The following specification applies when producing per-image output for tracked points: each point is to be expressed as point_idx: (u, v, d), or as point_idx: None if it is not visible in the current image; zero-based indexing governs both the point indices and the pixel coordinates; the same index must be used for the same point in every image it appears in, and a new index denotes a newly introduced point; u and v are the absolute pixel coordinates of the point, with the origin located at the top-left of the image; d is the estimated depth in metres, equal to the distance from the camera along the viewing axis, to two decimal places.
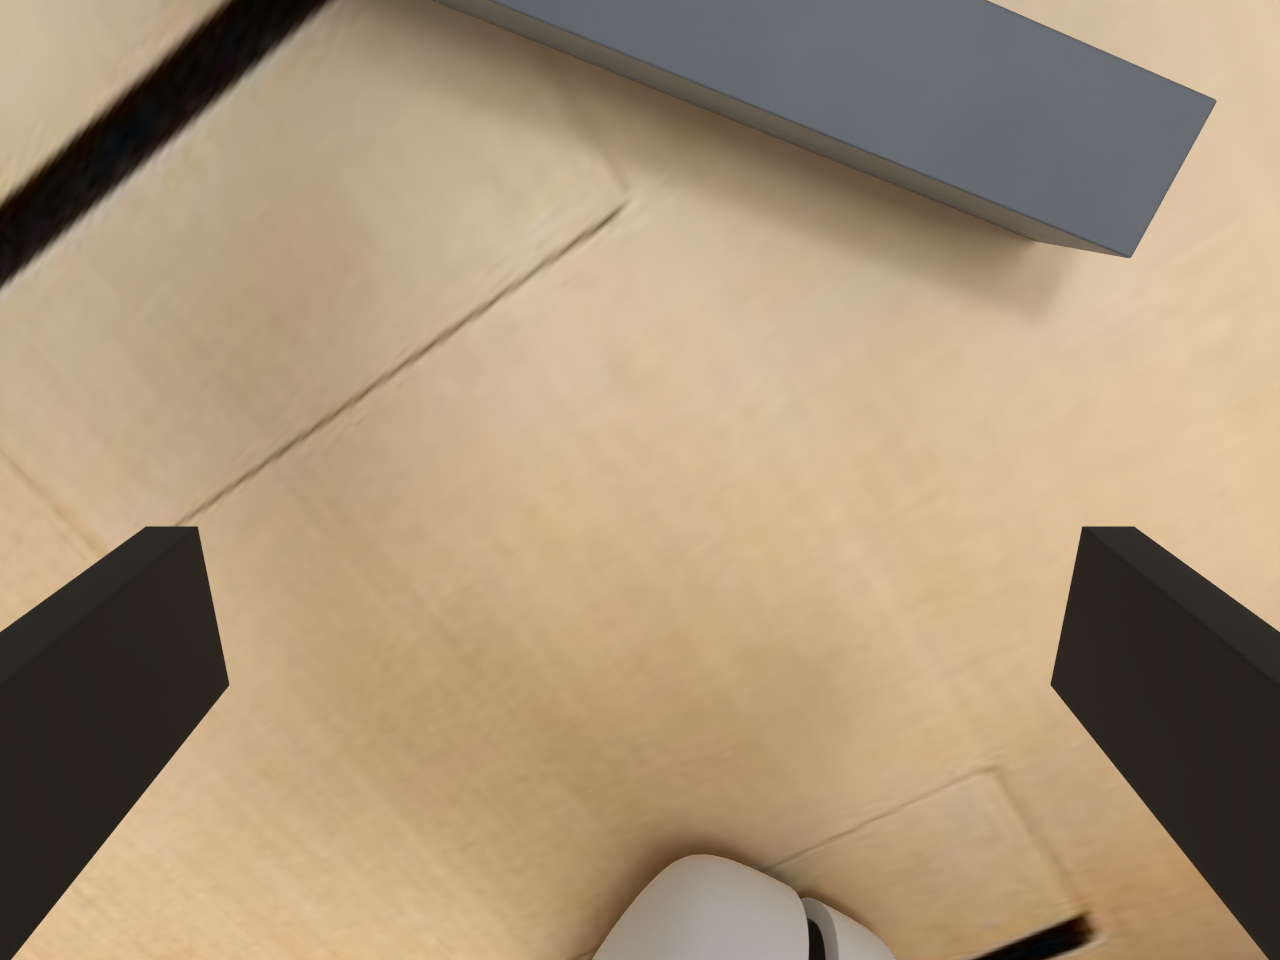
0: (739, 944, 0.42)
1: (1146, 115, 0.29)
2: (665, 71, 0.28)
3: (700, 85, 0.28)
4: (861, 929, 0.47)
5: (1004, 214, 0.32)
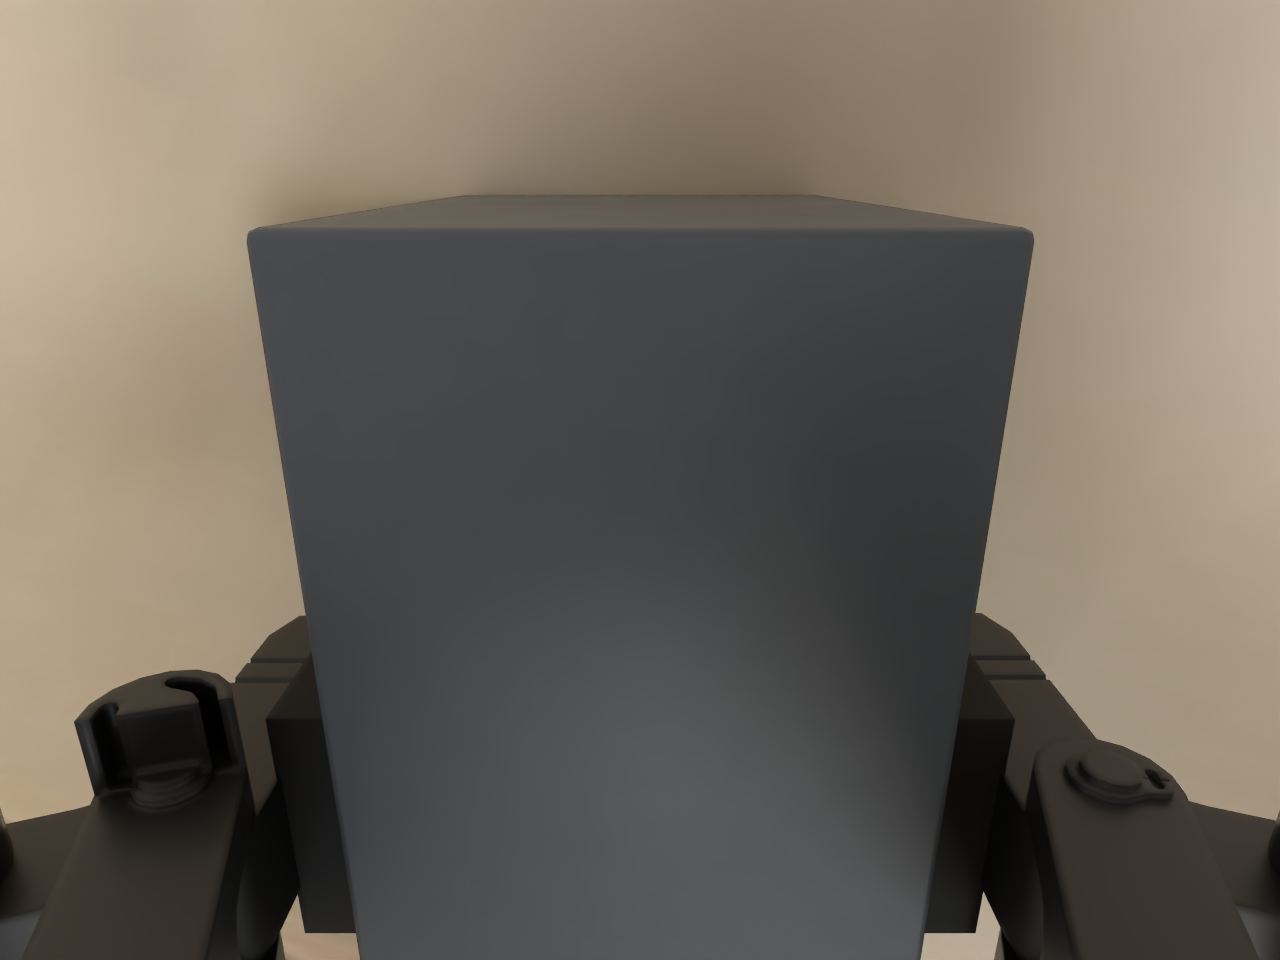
0: None
1: None
2: None
3: None
4: None
5: None
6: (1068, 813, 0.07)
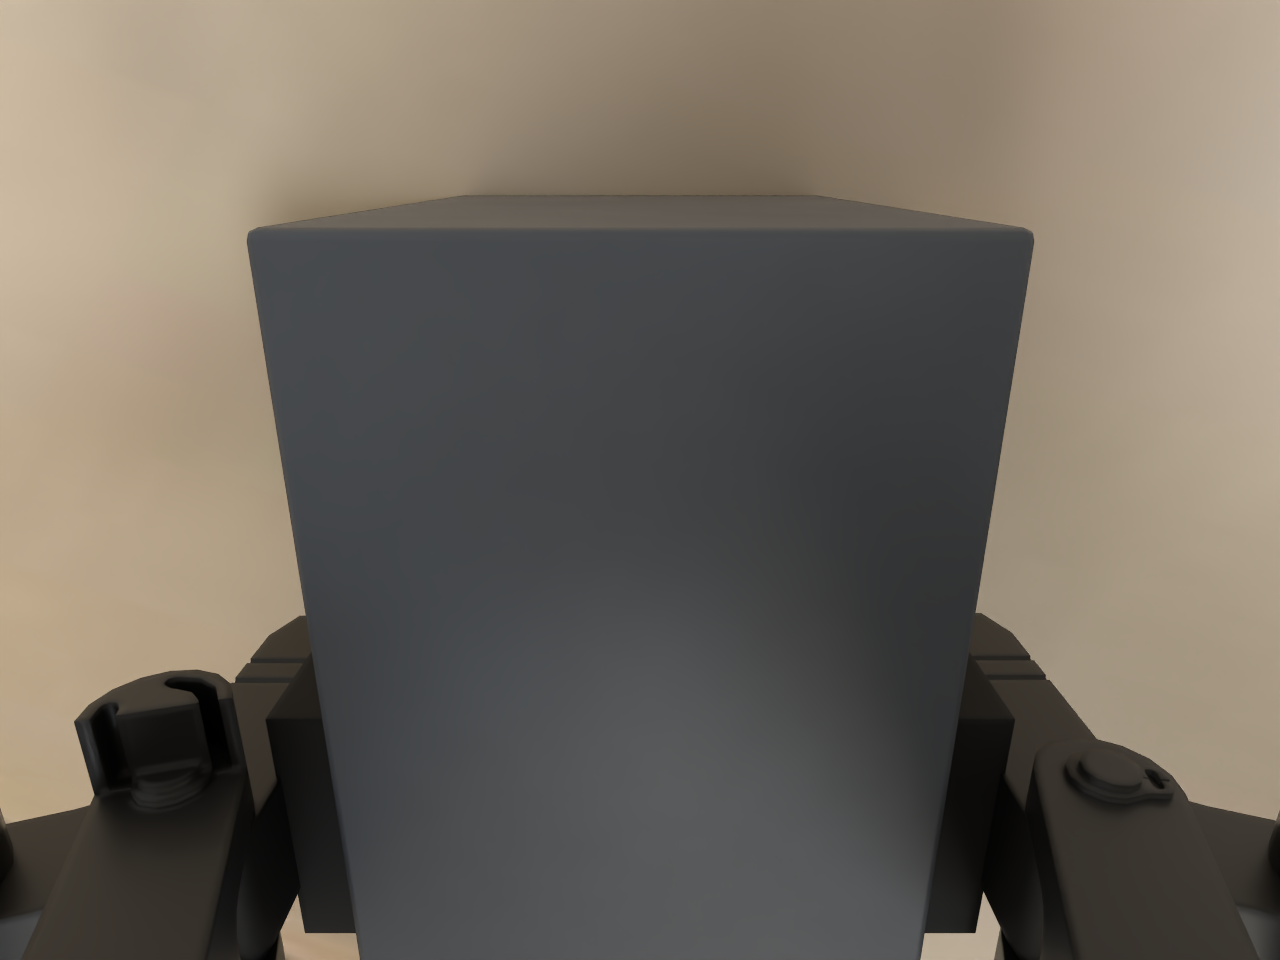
0: None
1: None
2: None
3: None
4: None
5: None
6: (1068, 813, 0.07)
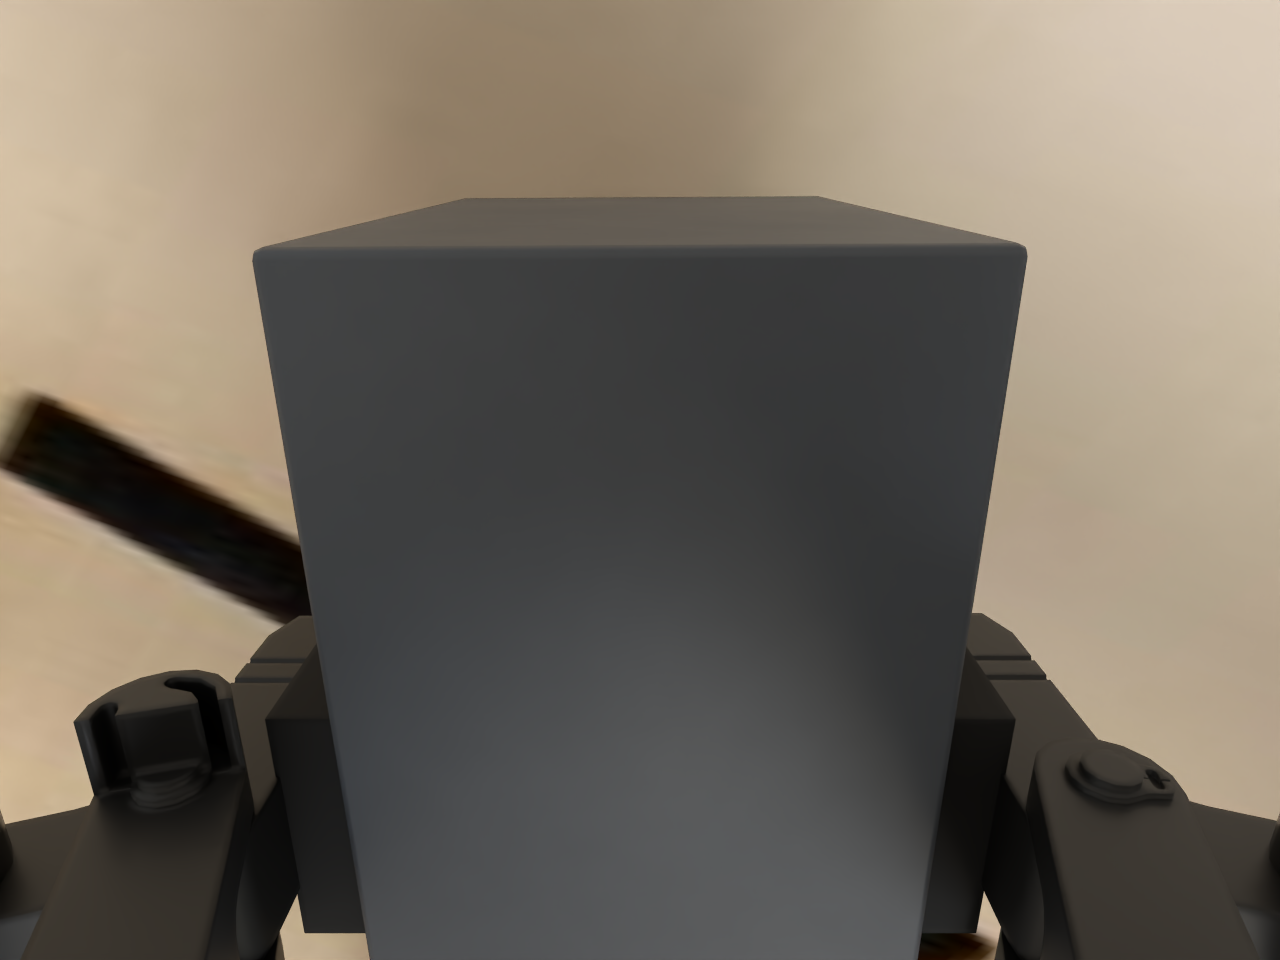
0: None
1: None
2: None
3: None
4: None
5: None
6: (1068, 813, 0.07)
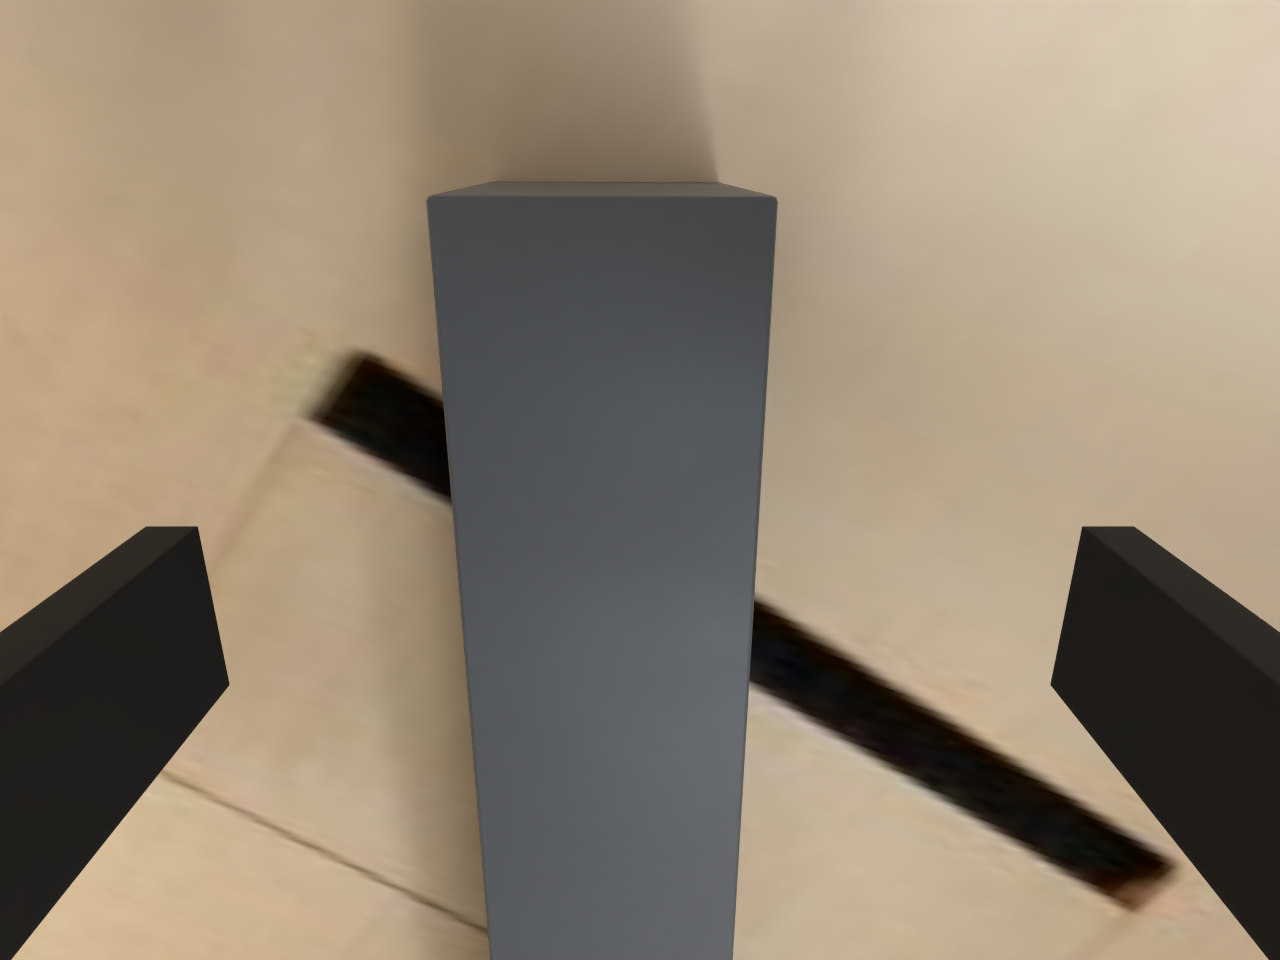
0: None
1: None
2: None
3: None
4: None
5: None
6: None
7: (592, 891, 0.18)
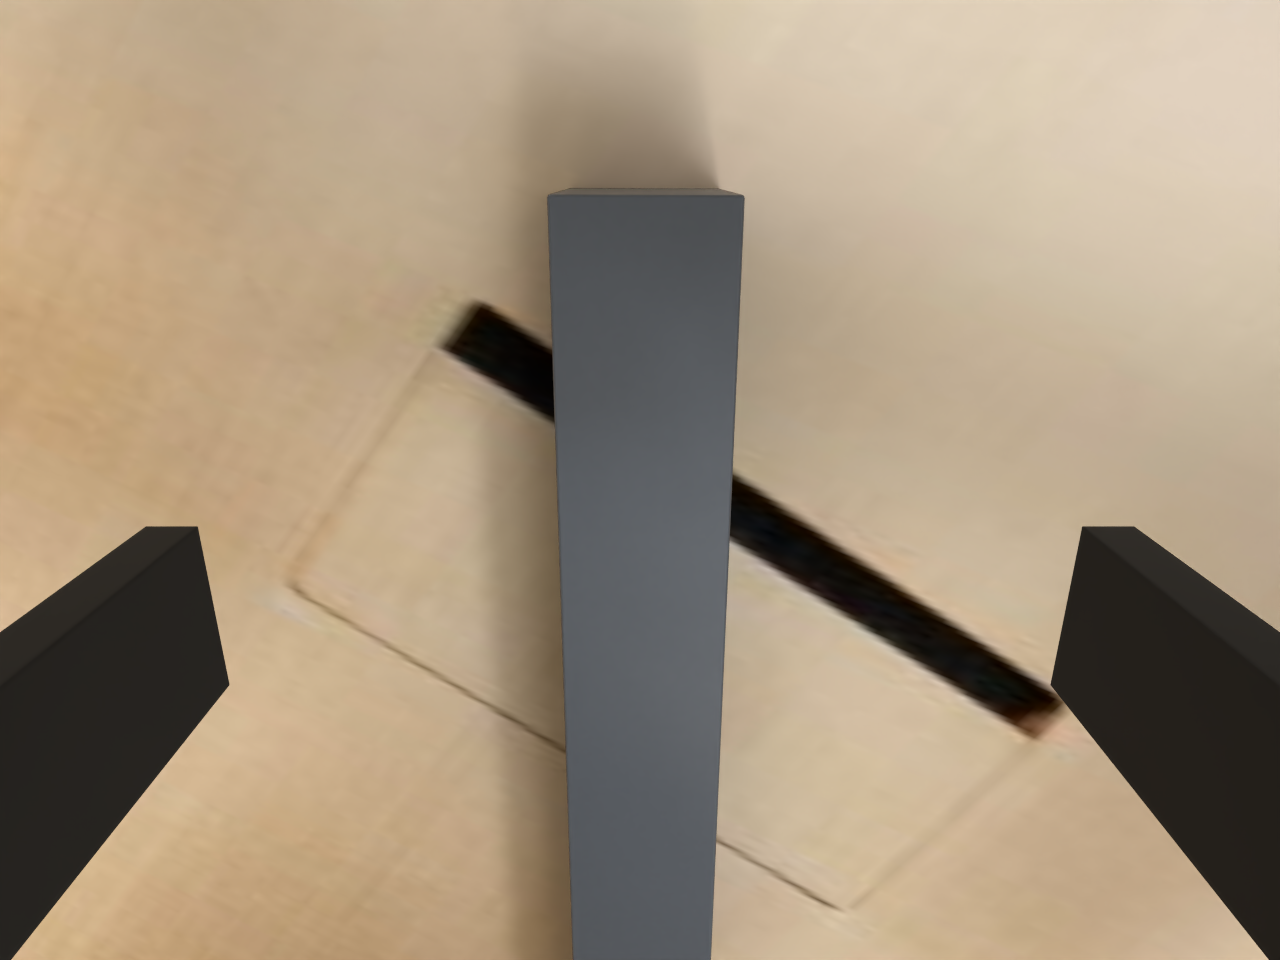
0: None
1: None
2: None
3: None
4: None
5: None
6: None
7: (631, 642, 0.29)
